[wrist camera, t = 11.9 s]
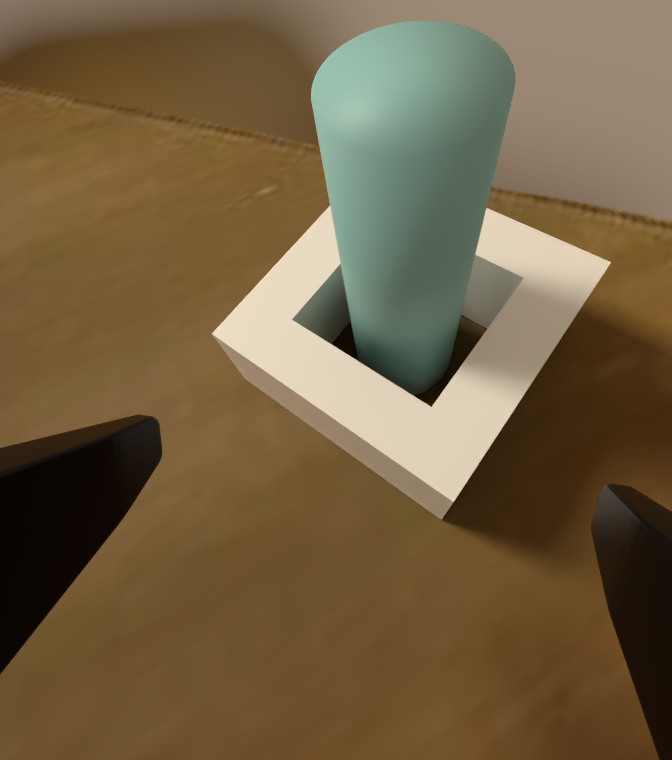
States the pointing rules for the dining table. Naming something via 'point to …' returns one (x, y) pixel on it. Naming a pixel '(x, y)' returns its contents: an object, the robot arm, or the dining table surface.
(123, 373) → the dining table surface
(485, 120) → the teal dowel
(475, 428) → the well block
